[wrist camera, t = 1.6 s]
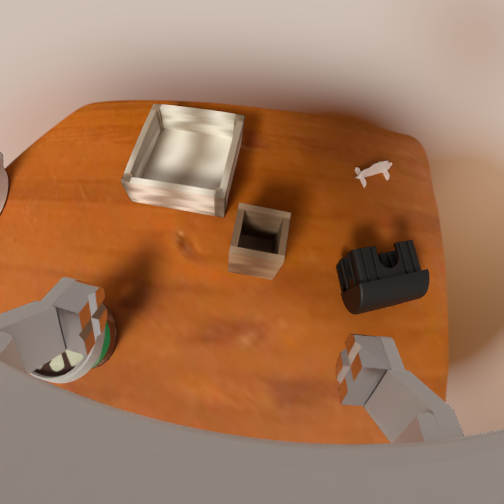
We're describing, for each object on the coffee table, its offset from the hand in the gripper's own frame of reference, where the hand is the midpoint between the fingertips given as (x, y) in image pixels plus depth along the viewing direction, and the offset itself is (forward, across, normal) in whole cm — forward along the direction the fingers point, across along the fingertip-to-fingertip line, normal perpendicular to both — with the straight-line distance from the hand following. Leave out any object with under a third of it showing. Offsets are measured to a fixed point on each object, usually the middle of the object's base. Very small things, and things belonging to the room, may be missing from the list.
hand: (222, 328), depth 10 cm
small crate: (+28, -1, +12) cm, 31 cm away
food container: (+17, +16, +23) cm, 33 cm away
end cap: (+28, -17, +13) cm, 35 cm away
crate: (+36, +10, +4) cm, 37 cm away
